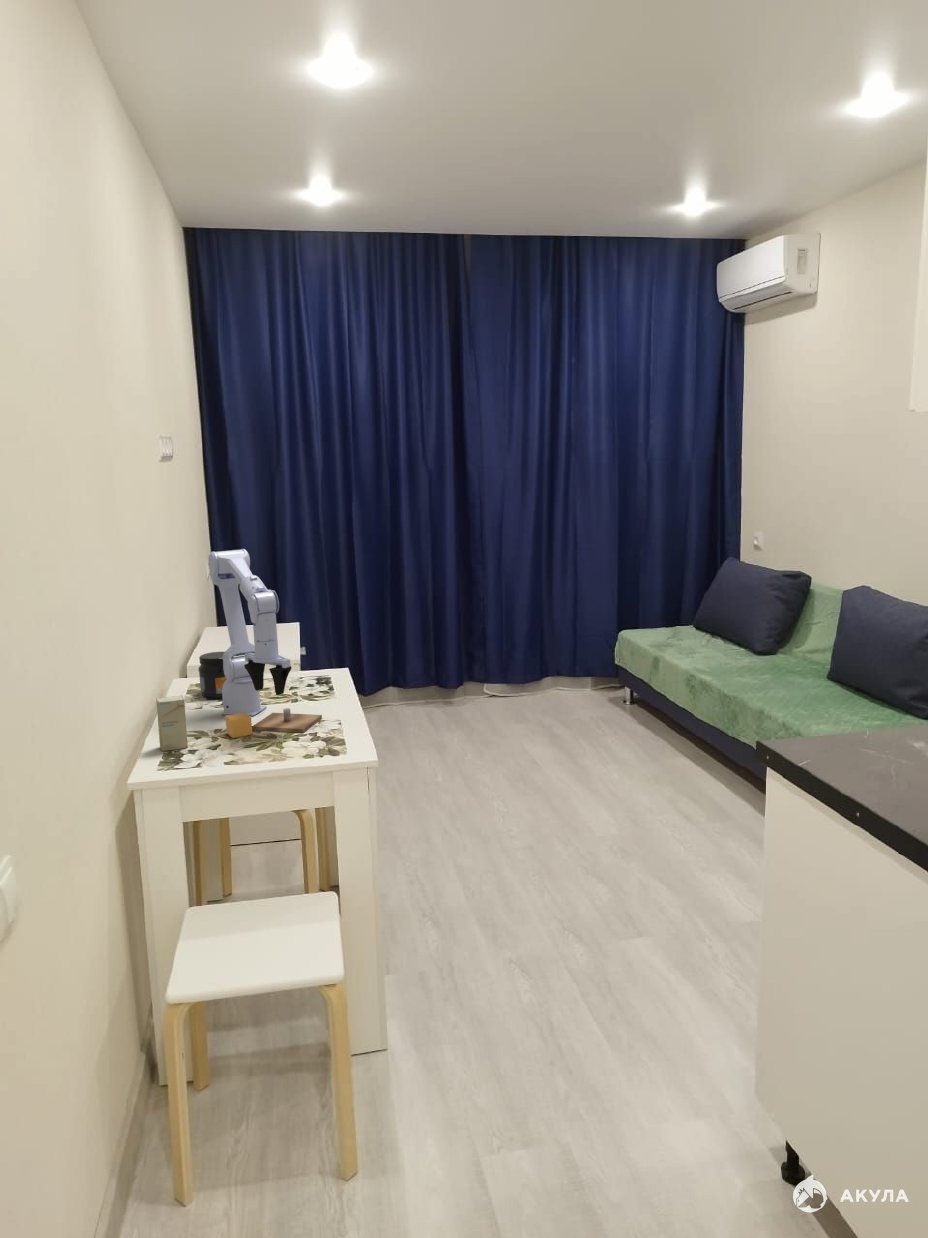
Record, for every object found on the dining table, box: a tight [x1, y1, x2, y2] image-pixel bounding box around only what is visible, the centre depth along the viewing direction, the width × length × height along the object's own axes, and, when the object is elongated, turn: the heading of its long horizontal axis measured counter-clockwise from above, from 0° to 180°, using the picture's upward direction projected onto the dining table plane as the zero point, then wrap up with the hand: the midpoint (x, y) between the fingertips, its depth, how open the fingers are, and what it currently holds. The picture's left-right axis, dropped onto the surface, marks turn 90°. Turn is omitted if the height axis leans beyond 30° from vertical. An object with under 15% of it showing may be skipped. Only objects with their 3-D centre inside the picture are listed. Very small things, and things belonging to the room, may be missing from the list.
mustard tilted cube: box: [224, 712, 253, 739], centre depth 224 cm, size 5×5×4 cm
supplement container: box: [198, 651, 232, 700], centre depth 260 cm, size 10×10×12 cm
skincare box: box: [155, 694, 189, 752], centre depth 215 cm, size 6×4×12 cm
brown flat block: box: [252, 708, 323, 734], centre depth 231 cm, size 14×12×4 cm
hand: (269, 691), depth 227 cm, fingers open, 7 cm apart
